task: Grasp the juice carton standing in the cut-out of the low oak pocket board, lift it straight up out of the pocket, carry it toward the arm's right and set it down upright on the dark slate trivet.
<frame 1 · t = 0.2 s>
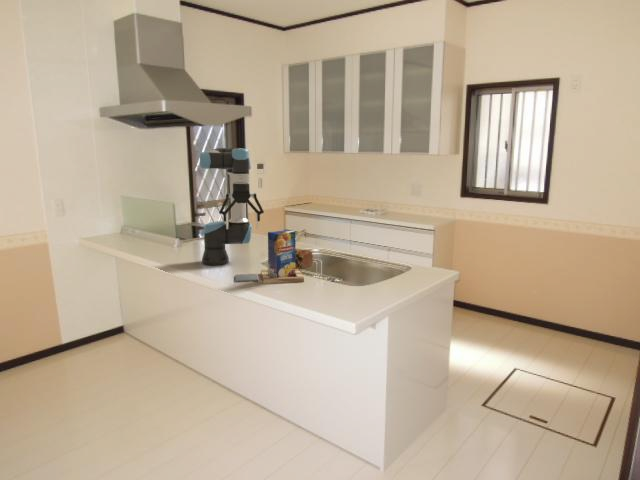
hand: (242, 228, 214), 28 cm above the worktop, fingers open, 13 cm apart
trivet: (246, 278, 232), on the worktop
juice carton: (281, 278, 235), resting in pocket board
bread: (294, 266, 259), on the worktop
pocket board: (281, 277, 235), on the worktop
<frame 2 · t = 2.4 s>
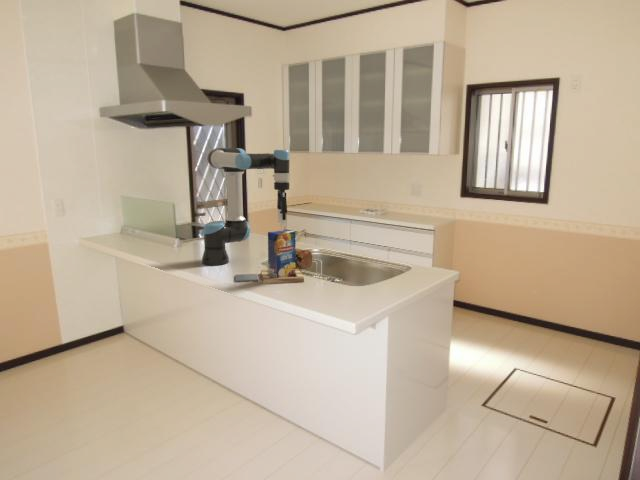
hand: (282, 224, 229), 28 cm above the worktop, fingers open, 13 cm apart
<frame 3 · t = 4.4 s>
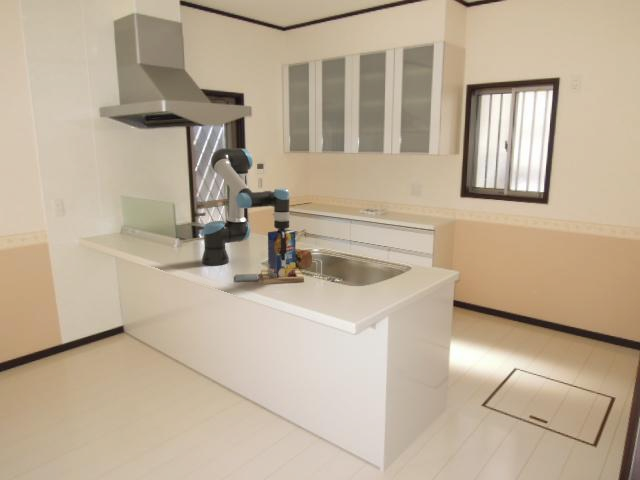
hand: (281, 263, 233), 7 cm above the worktop, fingers open, 8 cm apart
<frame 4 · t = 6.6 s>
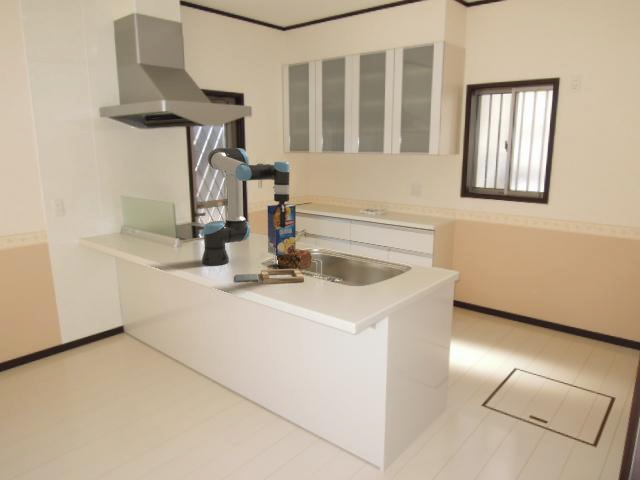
hand: (281, 239, 231), 20 cm above the worktop, fingers open, 4 cm apart
juice carton: (281, 252, 232), point 13 cm above the worktop, touching hand
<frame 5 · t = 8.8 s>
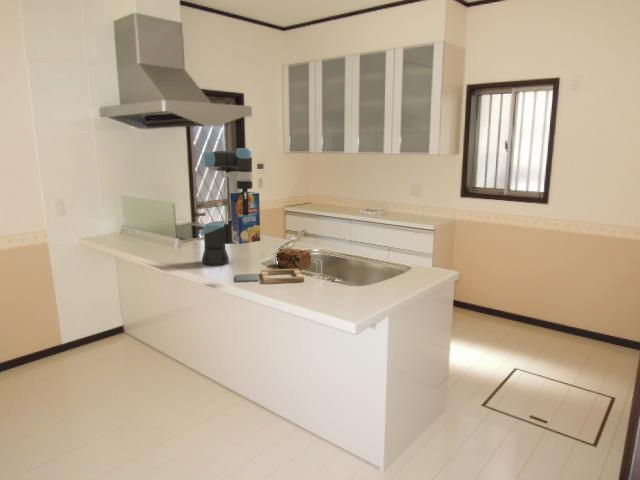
hand: (245, 227, 227), 26 cm above the worktop, fingers open, 4 cm apart
juice carton: (246, 241, 228), point 19 cm above the worktop, touching hand
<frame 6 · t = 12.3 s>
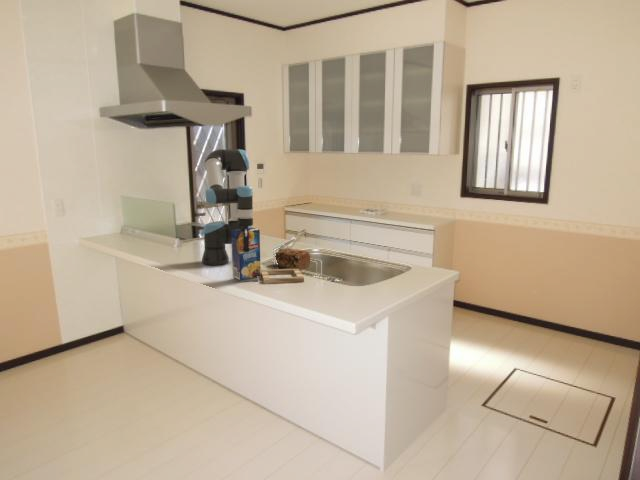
hand: (246, 263, 230), 8 cm above the worktop, fingers open, 4 cm apart
juice carton: (246, 276, 232), point 1 cm above the worktop, touching hand
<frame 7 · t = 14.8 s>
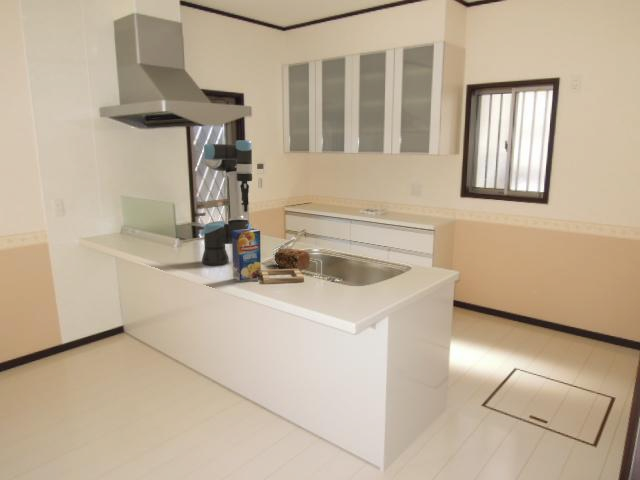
hand: (245, 216, 226), 32 cm above the worktop, fingers open, 13 cm apart
juice carton: (247, 277, 232), point 1 cm above the worktop, touching trivet
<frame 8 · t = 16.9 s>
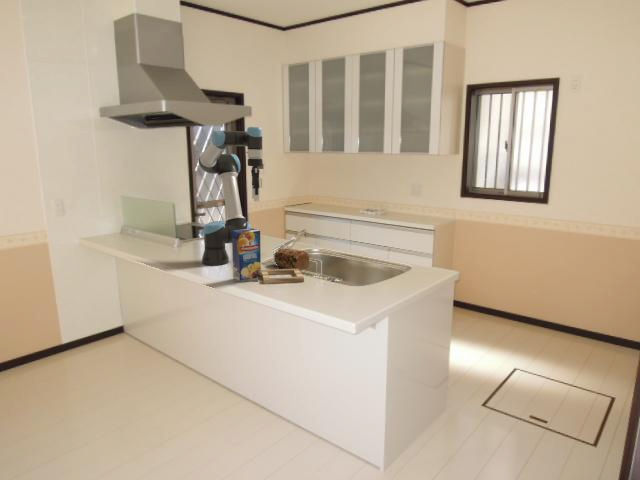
hand: (255, 199, 237), 39 cm above the worktop, fingers open, 13 cm apart
at the end: juice carton inside the target area on the trivet (0.3 cm from its centre), point 0.6 cm above the trivet's base; juice carton tilted 0°; the gripper is holding nothing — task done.
